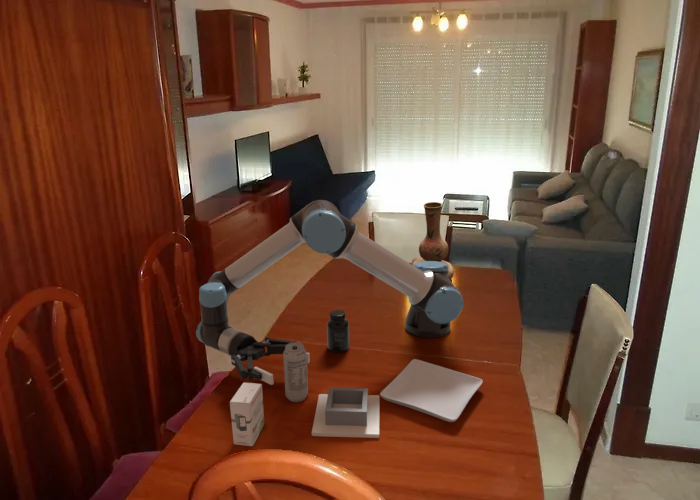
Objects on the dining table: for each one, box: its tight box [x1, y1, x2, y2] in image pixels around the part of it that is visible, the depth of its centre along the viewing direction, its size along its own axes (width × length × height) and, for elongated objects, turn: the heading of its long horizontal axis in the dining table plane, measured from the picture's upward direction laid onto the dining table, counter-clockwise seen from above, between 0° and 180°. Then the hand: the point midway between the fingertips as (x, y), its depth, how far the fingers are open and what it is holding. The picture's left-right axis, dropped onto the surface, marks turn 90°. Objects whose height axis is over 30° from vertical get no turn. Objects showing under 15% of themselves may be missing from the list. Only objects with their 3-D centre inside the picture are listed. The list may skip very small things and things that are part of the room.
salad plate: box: [379, 358, 484, 423], centre depth 142 cm, size 21×21×3 cm
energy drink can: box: [282, 341, 309, 403], centre depth 140 cm, size 6×6×15 cm
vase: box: [411, 201, 455, 282], centre depth 208 cm, size 24×22×35 cm
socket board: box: [311, 387, 381, 439], centre depth 133 cm, size 16×16×5 cm
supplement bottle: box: [326, 309, 350, 353], centre depth 166 cm, size 7×7×12 cm
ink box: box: [229, 382, 265, 447], centre depth 126 cm, size 9×5×12 cm, turn 169°
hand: (291, 368), depth 140 cm, fingers open, 13 cm apart
